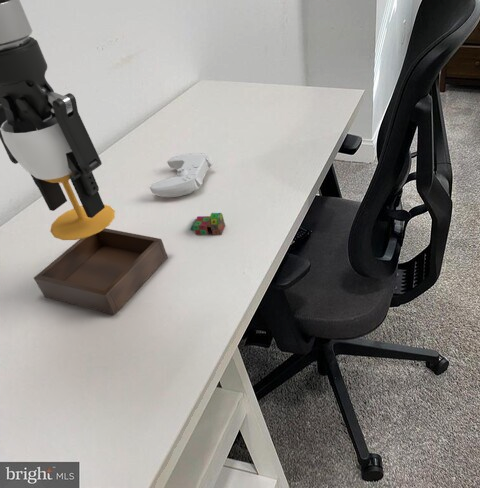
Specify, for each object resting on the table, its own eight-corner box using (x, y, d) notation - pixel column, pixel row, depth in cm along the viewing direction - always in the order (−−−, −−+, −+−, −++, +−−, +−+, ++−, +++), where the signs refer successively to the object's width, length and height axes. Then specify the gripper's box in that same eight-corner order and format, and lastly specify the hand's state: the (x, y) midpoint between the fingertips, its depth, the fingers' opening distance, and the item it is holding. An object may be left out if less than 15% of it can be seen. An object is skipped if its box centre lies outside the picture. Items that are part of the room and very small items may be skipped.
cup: (127, 207, 73) (88, 106, 63) (90, 244, 67) (40, 137, 57) (77, 202, 76) (32, 103, 66) (36, 237, 69) (-21, 133, 59)
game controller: (168, 152, 104) (210, 142, 102) (177, 170, 107) (218, 160, 104) (143, 187, 93) (189, 177, 91) (154, 206, 95) (199, 196, 93)
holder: (114, 315, 71) (105, 295, 68) (44, 297, 75) (33, 277, 72) (168, 257, 81) (161, 238, 78) (103, 244, 85) (95, 226, 82)
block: (226, 221, 88) (223, 205, 86) (221, 234, 85) (217, 218, 83) (195, 221, 88) (190, 205, 86) (188, 234, 85) (183, 219, 83)
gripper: (88, 35, 55) (147, 203, 69) (-32, 31, 61) (46, 187, 75) (38, 56, 50) (113, 234, 64) (-89, 49, 56) (7, 213, 70)
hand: (77, 208), depth 70 cm, fingers closed on cup, 6 cm apart
